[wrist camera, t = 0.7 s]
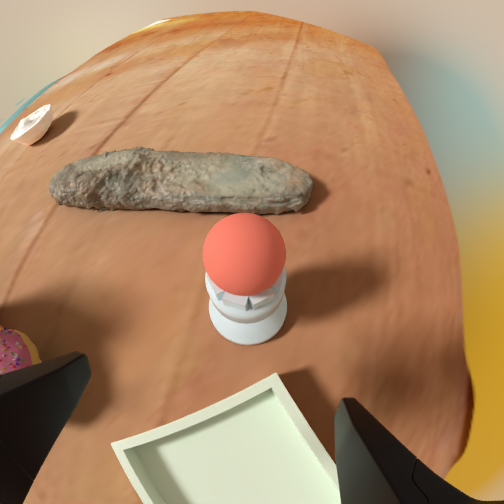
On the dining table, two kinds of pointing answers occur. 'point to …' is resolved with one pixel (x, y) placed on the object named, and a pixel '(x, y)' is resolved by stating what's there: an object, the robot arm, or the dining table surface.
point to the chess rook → (248, 312)
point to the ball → (244, 254)
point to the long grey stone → (182, 182)
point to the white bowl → (33, 126)
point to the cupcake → (16, 351)
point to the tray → (233, 454)
